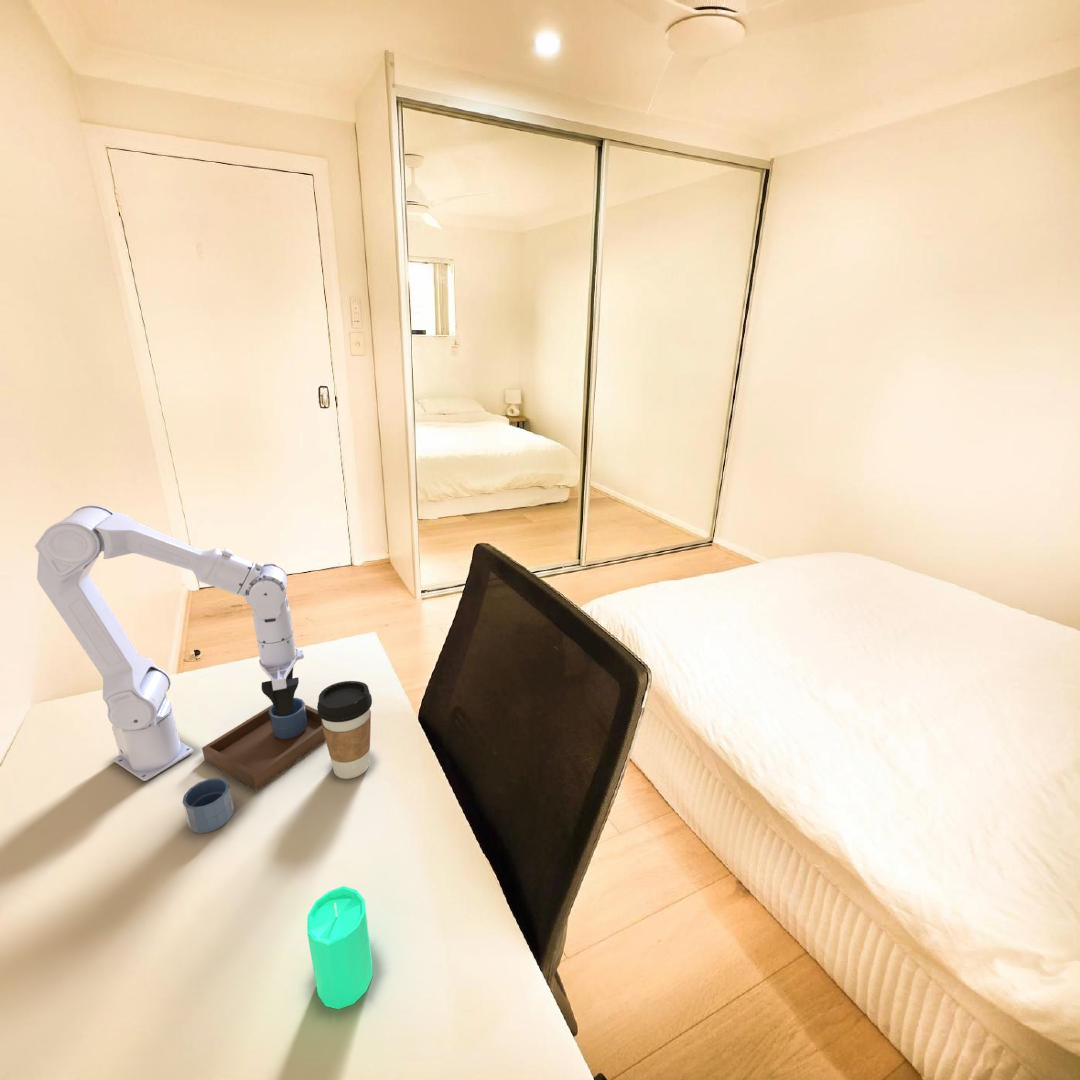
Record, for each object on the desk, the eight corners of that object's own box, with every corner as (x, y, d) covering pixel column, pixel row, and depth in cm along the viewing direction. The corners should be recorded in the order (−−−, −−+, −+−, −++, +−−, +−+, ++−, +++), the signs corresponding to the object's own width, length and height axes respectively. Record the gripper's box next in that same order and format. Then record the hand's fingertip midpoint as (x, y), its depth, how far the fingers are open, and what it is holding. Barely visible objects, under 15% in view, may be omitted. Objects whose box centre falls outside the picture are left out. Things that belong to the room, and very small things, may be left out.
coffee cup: (362, 788, 86) (354, 712, 81) (315, 779, 87) (304, 703, 82) (386, 753, 94) (380, 680, 89) (342, 745, 95) (334, 673, 90)
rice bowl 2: (265, 738, 95) (261, 715, 94) (286, 717, 101) (282, 695, 99) (295, 743, 94) (291, 720, 93) (314, 721, 100) (311, 699, 98)
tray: (204, 760, 91) (201, 747, 90) (287, 706, 105) (286, 695, 104) (256, 790, 85) (253, 777, 84) (337, 729, 99) (336, 718, 98)
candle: (326, 952, 63) (314, 878, 59) (378, 948, 63) (370, 875, 59) (309, 1011, 57) (295, 934, 53) (366, 1007, 58) (357, 930, 54)
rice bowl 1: (180, 825, 78) (173, 799, 77) (219, 797, 83) (213, 772, 82) (204, 841, 76) (198, 815, 74) (243, 812, 81) (237, 786, 79)
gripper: (301, 651, 86) (311, 720, 91) (299, 612, 99) (307, 675, 103) (253, 660, 83) (265, 730, 88) (257, 619, 96) (267, 683, 100)
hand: (285, 701), depth 95 cm, fingers open, 7 cm apart
